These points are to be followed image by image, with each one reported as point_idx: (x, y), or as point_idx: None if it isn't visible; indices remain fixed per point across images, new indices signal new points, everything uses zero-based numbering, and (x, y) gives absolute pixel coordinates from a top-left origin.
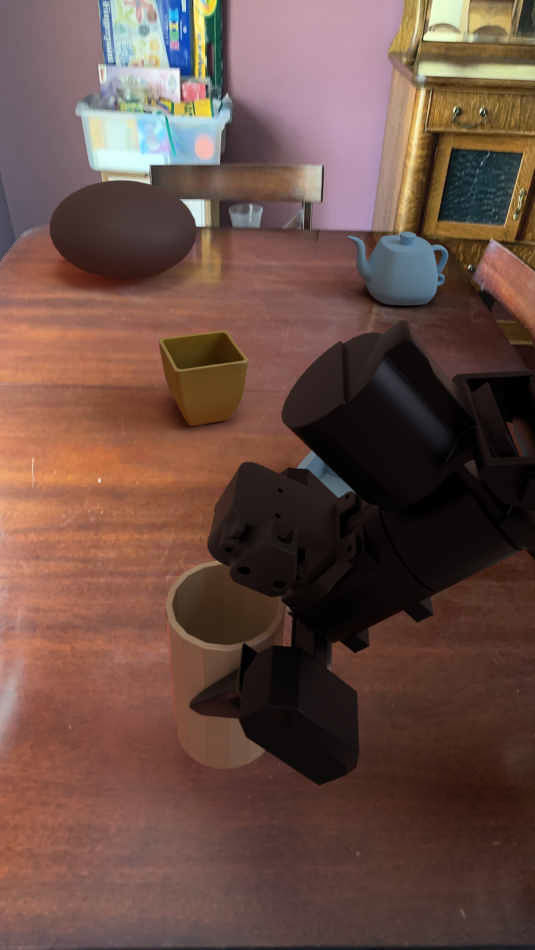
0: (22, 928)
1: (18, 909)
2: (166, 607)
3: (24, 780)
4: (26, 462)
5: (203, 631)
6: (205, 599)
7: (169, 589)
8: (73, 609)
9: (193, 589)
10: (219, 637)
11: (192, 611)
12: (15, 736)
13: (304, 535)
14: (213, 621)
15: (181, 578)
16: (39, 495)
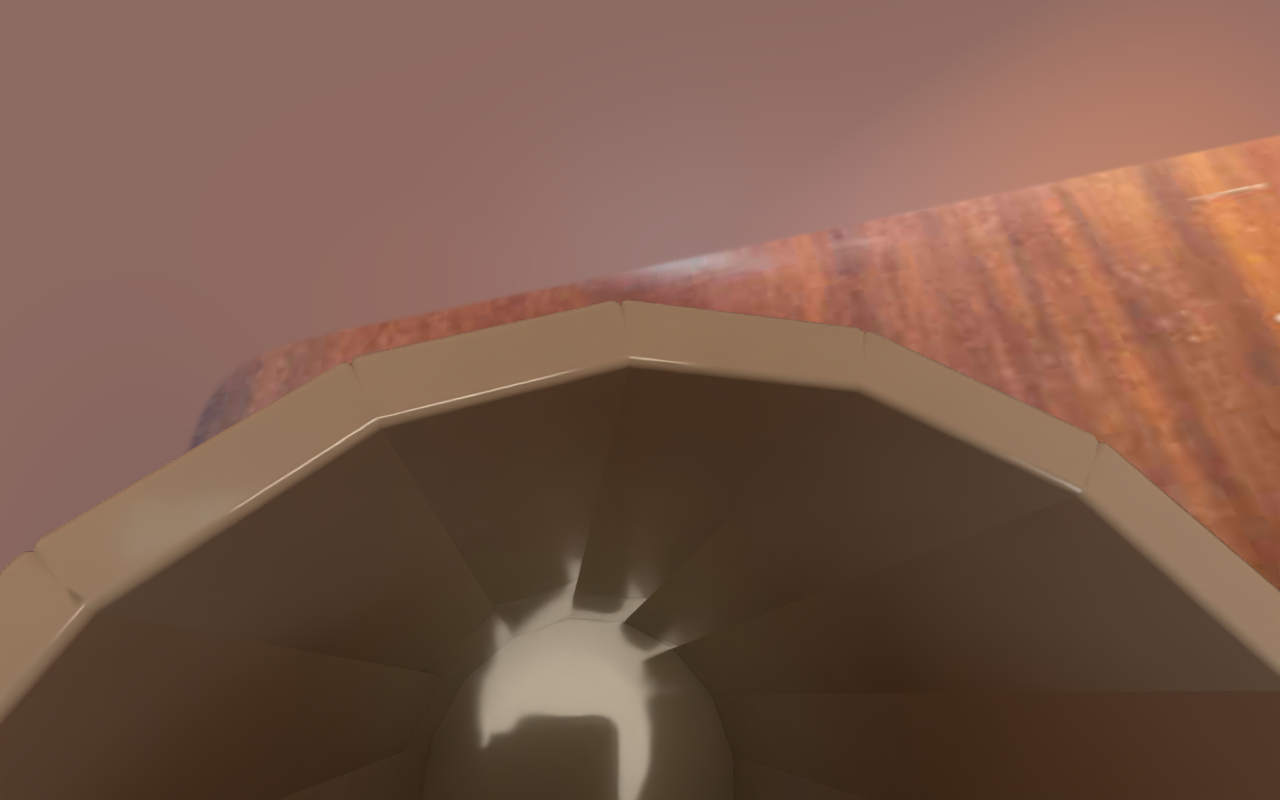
0: (231, 375)
1: (267, 362)
2: (585, 316)
3: (515, 320)
4: (1245, 175)
5: (801, 680)
6: (942, 695)
7: (837, 327)
8: (912, 330)
9: (967, 591)
10: (812, 760)
11: (837, 609)
12: (605, 288)
13: None
14: (853, 738)
15: (1020, 429)
16: (1174, 214)
